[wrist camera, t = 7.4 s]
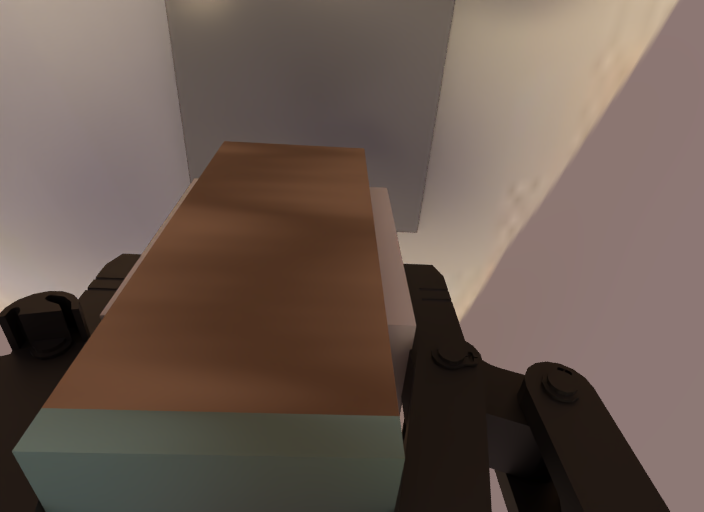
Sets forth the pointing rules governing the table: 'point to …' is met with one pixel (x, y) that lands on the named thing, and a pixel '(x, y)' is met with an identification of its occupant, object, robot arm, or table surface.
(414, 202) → the slate coaster
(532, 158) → the table surface
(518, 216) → the table surface
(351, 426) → the walnut block
